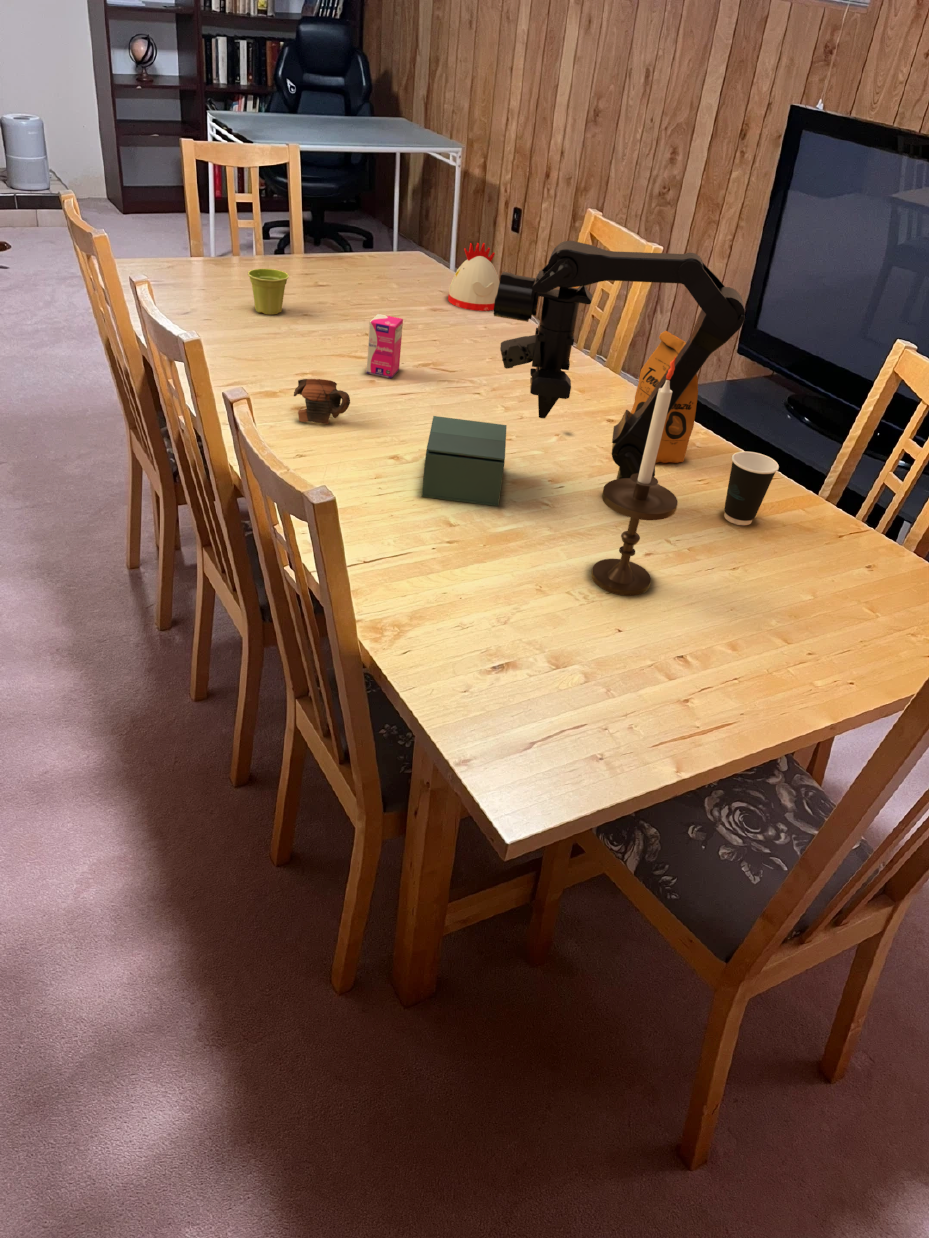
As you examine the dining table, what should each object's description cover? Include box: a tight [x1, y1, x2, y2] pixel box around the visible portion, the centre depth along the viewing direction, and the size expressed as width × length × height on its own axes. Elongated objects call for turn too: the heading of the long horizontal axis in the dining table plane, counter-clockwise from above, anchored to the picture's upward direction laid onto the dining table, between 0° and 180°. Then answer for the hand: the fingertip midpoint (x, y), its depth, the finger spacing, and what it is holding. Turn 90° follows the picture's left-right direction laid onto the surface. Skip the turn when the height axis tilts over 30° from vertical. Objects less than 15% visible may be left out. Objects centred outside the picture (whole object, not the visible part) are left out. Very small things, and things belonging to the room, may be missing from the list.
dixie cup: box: [723, 450, 780, 526], centre depth 168 cm, size 8×8×11 cm
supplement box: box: [365, 313, 404, 379], centre depth 206 cm, size 6×6×12 cm
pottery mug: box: [293, 378, 351, 425], centre depth 186 cm, size 12×10×8 cm
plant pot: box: [247, 268, 290, 315], centre depth 231 cm, size 9×9×9 cm
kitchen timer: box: [447, 242, 500, 312], centre depth 253 cm, size 14×14×15 cm
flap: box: [429, 415, 508, 443], centre depth 168 cm, size 13×7×1 cm, turn 87°
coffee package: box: [630, 330, 699, 464], centre depth 185 cm, size 10×12×22 cm
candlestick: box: [590, 357, 679, 597], centre depth 140 cm, size 11×11×35 cm
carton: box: [421, 431, 507, 507], centre depth 168 cm, size 13×14×9 cm
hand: (541, 417), depth 165 cm, fingers closed
